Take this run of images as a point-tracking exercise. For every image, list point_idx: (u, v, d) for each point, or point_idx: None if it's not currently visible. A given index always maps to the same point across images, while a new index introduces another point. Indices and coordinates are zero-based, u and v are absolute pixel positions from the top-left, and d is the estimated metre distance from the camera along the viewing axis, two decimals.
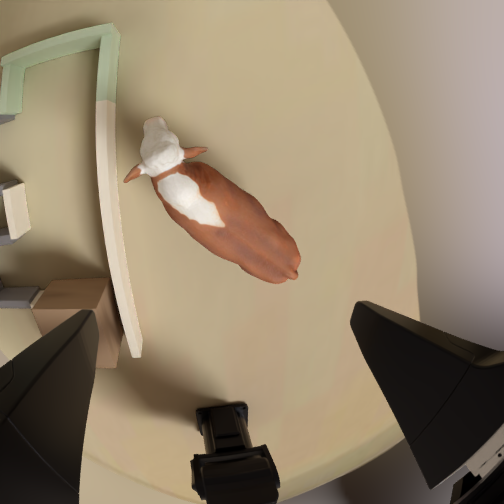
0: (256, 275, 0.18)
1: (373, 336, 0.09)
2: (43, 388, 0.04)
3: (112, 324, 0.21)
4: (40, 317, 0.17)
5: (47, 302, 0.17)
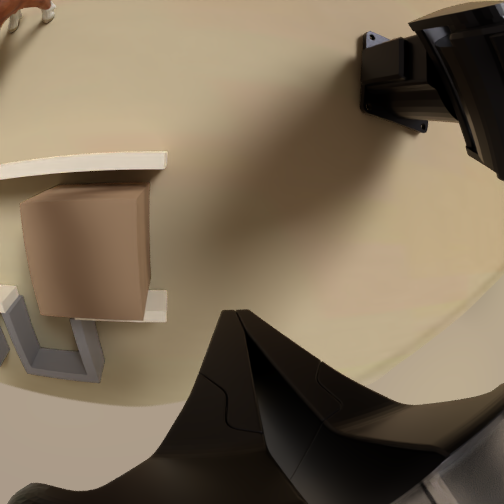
0: None
1: None
2: None
3: (92, 190, 0.12)
4: (49, 305, 0.12)
5: None
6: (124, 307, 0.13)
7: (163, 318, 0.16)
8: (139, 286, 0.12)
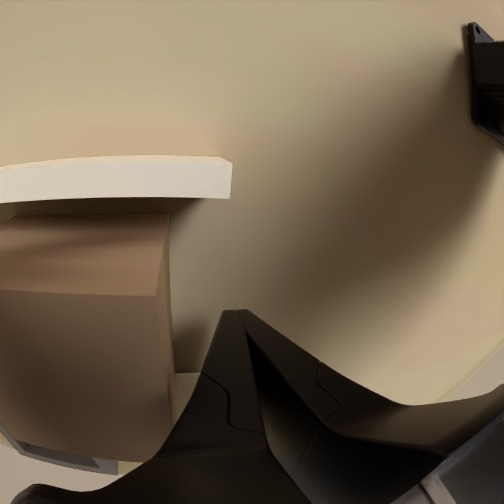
0: None
1: None
2: None
3: (57, 241, 0.06)
4: (21, 433, 0.05)
5: None
6: (147, 452, 0.06)
7: None
8: None
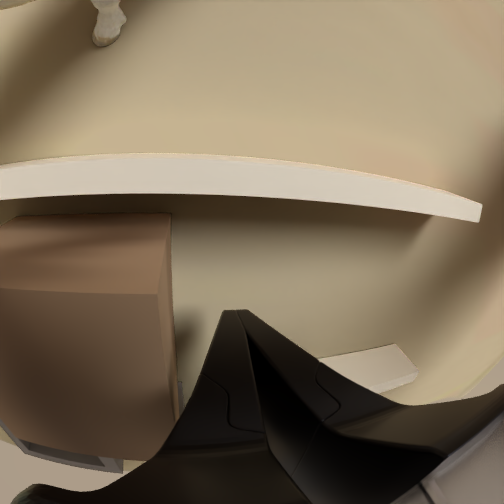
0: None
1: None
2: None
3: (60, 240, 0.06)
4: (23, 432, 0.05)
5: None
6: (149, 450, 0.06)
7: (413, 378, 0.12)
8: None
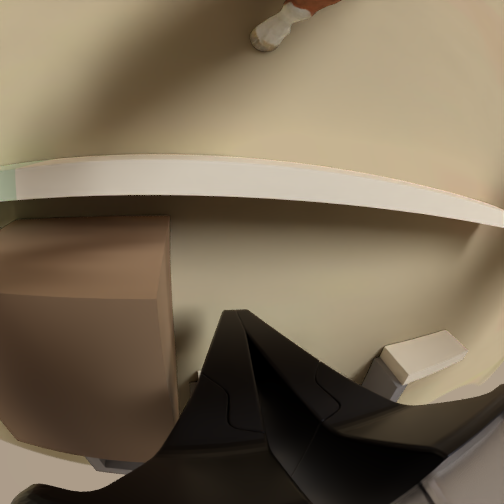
0: None
1: None
2: None
3: (59, 244, 0.06)
4: (24, 435, 0.05)
5: None
6: (149, 452, 0.06)
7: (463, 356, 0.13)
8: None
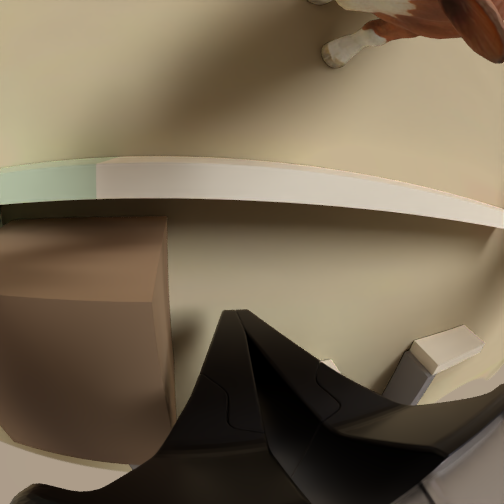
0: None
1: None
2: None
3: (55, 245, 0.06)
4: (21, 436, 0.05)
5: None
6: (146, 455, 0.06)
7: (481, 349, 0.14)
8: None
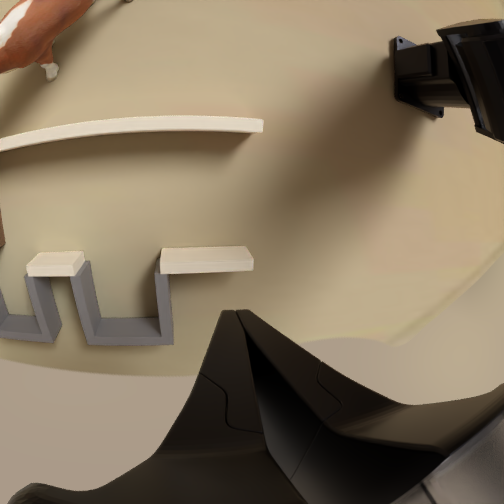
0: None
1: None
2: None
3: None
4: None
5: None
6: None
7: (250, 266, 0.19)
8: None
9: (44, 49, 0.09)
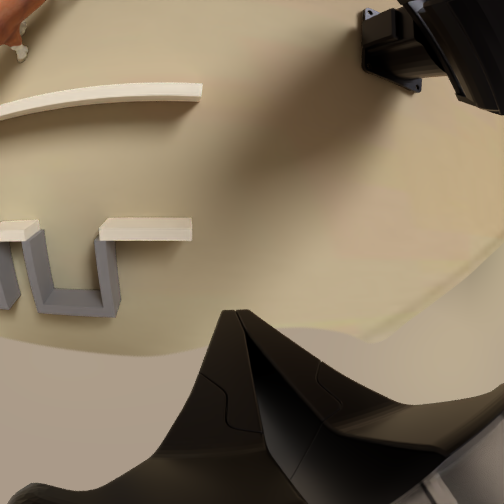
0: None
1: None
2: None
3: None
4: None
5: None
6: None
7: (189, 236, 0.17)
8: None
9: (11, 32, 0.08)
